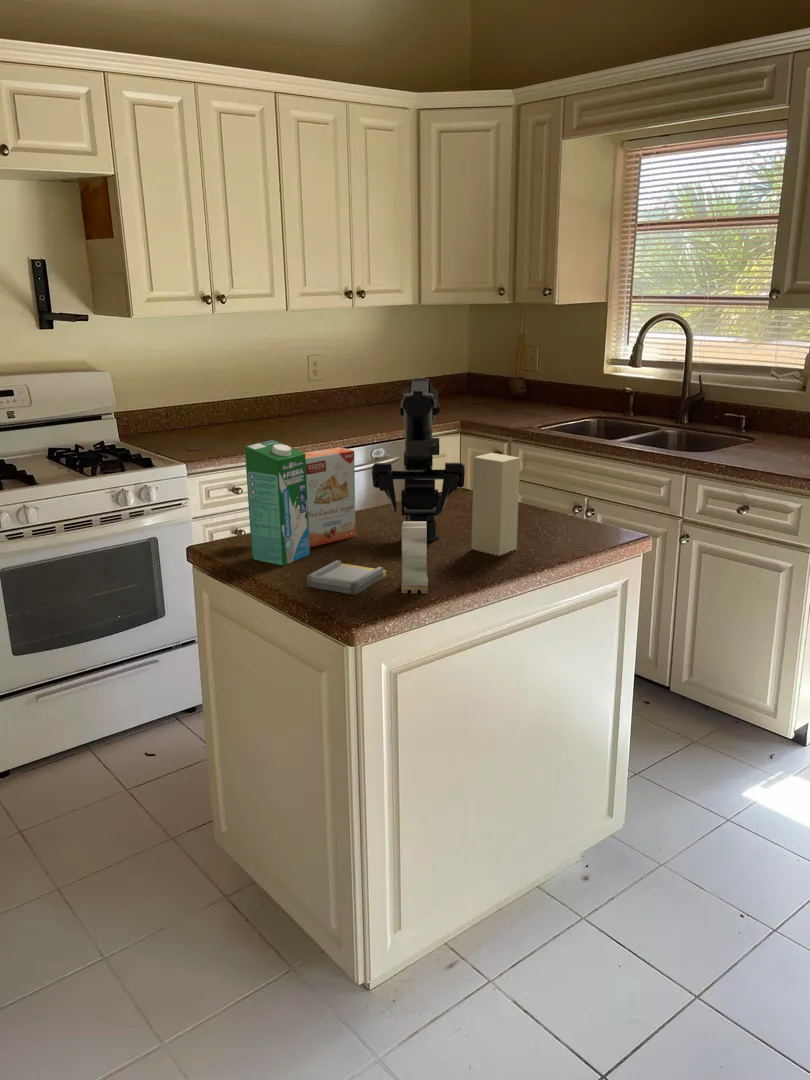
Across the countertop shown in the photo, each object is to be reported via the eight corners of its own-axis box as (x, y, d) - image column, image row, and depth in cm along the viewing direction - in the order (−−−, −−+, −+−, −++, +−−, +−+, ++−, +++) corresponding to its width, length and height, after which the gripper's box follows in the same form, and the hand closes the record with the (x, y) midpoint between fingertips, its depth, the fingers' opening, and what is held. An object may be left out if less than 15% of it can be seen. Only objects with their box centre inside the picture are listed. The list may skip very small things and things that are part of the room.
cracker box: (308, 549, 193) (304, 457, 187) (293, 543, 197) (289, 454, 191) (357, 537, 202) (355, 449, 196) (342, 531, 206) (339, 445, 200)
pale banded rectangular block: (402, 584, 170) (401, 521, 166) (427, 584, 170) (427, 521, 166) (401, 593, 165) (400, 528, 161) (427, 593, 165) (427, 528, 161)
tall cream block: (519, 549, 191) (522, 456, 185) (499, 556, 186) (501, 461, 180) (491, 542, 196) (493, 451, 190) (471, 549, 191) (472, 456, 185)
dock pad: (340, 568, 180) (339, 558, 179) (386, 576, 175) (385, 565, 174) (307, 586, 169) (307, 575, 169) (355, 594, 164) (355, 584, 164)
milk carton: (283, 566, 182) (277, 449, 174) (251, 559, 186) (244, 445, 179) (310, 554, 189) (305, 442, 182) (278, 548, 194) (272, 438, 186)
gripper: (371, 423, 172) (368, 490, 164) (464, 423, 171) (466, 490, 164) (374, 454, 181) (372, 518, 174) (463, 454, 181) (464, 518, 174)
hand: (418, 511), depth 171 cm, fingers open, 9 cm apart
